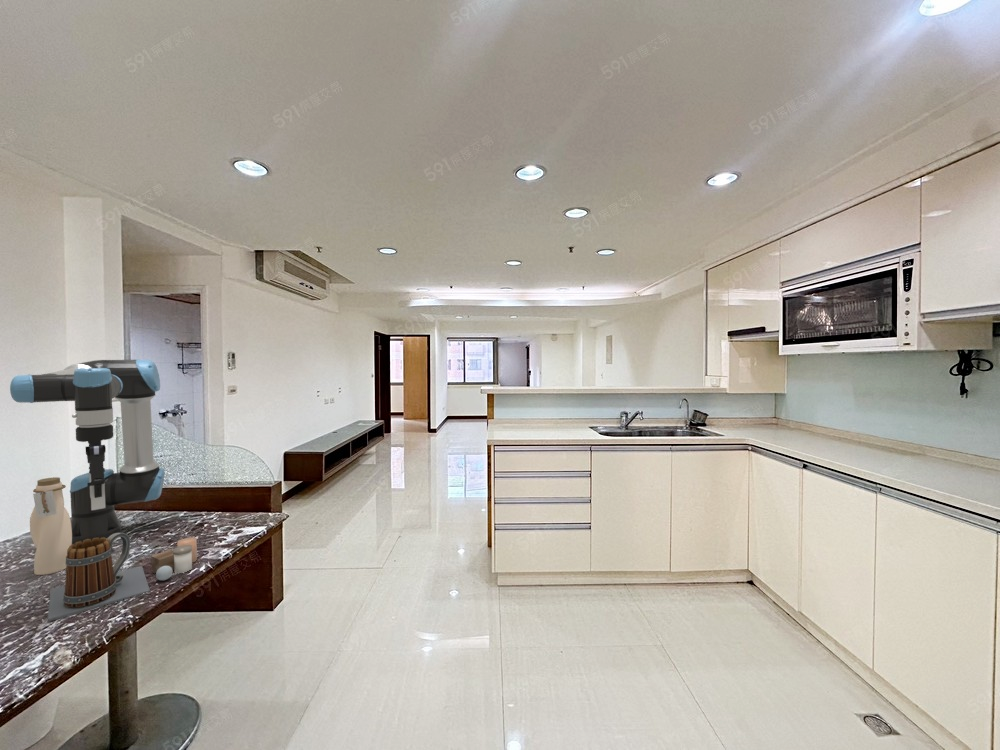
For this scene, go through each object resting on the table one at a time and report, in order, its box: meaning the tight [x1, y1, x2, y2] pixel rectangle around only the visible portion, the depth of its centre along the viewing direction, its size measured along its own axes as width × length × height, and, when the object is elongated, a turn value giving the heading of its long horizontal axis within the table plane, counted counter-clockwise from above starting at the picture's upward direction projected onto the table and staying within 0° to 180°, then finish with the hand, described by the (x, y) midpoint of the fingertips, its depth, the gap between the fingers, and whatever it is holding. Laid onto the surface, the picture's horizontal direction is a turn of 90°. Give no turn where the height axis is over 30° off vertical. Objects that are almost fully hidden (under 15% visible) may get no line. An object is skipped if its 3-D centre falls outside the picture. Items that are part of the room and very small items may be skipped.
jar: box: [172, 545, 193, 574], centre depth 137 cm, size 5×5×7 cm
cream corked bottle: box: [29, 476, 72, 576], centre depth 136 cm, size 10×9×28 cm
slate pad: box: [47, 565, 151, 623], centre depth 124 cm, size 20×20×1 cm
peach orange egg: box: [176, 536, 198, 563], centre depth 142 cm, size 5×5×7 cm
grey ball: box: [155, 566, 174, 582], centre depth 131 cm, size 4×4×4 cm
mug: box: [63, 532, 131, 608], centre depth 122 cm, size 16×11×15 cm
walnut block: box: [150, 549, 174, 574], centre depth 137 cm, size 5×5×5 cm
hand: (97, 502), depth 121 cm, fingers open, 13 cm apart
